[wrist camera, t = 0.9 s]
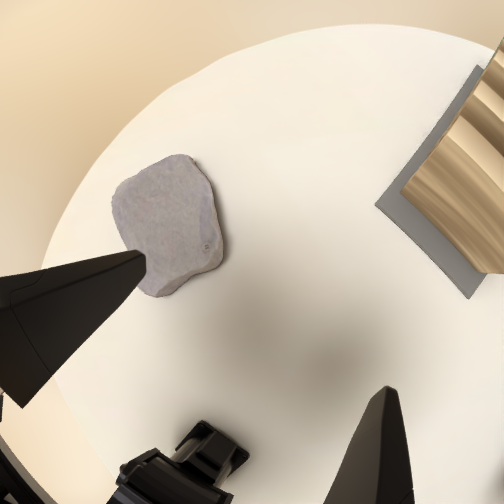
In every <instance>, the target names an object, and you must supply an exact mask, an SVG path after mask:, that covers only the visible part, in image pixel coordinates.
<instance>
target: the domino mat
mask: <svg viewBox="0 0 504 504" xmlns="http://www.w3.org/2000/svg"><path fill="white" fill-rule="evenodd" d="M483 71H484V70H483V69H482V68H481V67H480V66H478V65H476V67H475V68H474V70H473V71H472V73H471V74H470V76H469V78H468V79H467V81H466V82H465V84H464V85H463V87H462V88H461V90H460V91H459V93H458V94H457V96H456V97H455V99H454V100H453V101H452V103H451V104H450V106H449V107H448V109H447V110H446V112H445V113H444V114H443V116H442V117H441V119H440V120H439V121H438V123H437V124H436V126H435V127H434V128H433V130H432V131H431V133H430V134H429V135H428V137H427V138H426V139H425V141H424V142H423V143H422V145H421V146H420V147H419V149H418V150H417V151H416V153H415V154H414V155H413V157H412V158H411V159H410V161H409V162H408V163H407V165H406V166H405V167H404V168H403V170H402V171H401V172H400V174H399V175H398V176H397V177H396V179H395V180H394V181H393V182H392V184H391V185H390V186H389V187H388V189H387V190H386V191H385V192H384V194H383V195H382V196H381V197H380V199H379V200H378V201H377V202H376V203H375V205H376V206H377V207H378V208H379V209H380V210H381V211H382V212H383V213H384V214H386V215H387V216H388V217H389V218H390V219H391V220H392V221H393V222H394V223H395V224H396V225H397V226H398V227H400V228H401V229H402V230H403V231H404V232H405V233H406V234H407V235H408V236H409V237H410V238H411V239H412V240H413V241H414V242H415V243H416V244H417V245H418V246H419V247H420V248H421V249H422V250H423V251H424V252H425V253H426V254H427V255H428V256H429V257H430V258H431V259H432V260H433V261H434V262H435V263H436V264H437V265H438V266H439V268H440V269H441V270H442V271H443V272H444V273H445V274H446V275H447V276H448V277H449V278H450V279H451V281H452V282H453V283H454V284H455V285H456V286H457V287H458V288H459V290H460V291H461V292H462V293H463V294H464V295H465V297H466V298H467V299H470V298H471V296H472V295H473V294H474V292H475V291H476V289H477V288H478V286H479V285H480V284H481V282H482V281H483V279H484V278H485V276H486V275H487V273H480V272H476V271H475V270H474V268H473V267H472V266H471V265H470V264H469V263H468V261H467V260H466V259H465V258H464V257H463V256H462V255H461V253H460V252H459V251H458V250H457V249H456V248H455V247H454V246H453V245H452V244H451V243H450V242H449V240H448V239H447V238H446V237H445V236H444V235H443V234H442V233H441V232H440V231H439V230H438V229H437V228H436V227H435V226H434V225H433V224H432V223H431V222H430V221H429V220H428V219H427V218H426V217H425V216H424V215H423V214H422V213H421V212H420V211H419V210H418V209H417V208H416V207H415V206H413V205H412V204H411V203H410V202H409V201H408V200H407V199H406V198H405V197H404V196H403V195H402V194H400V191H401V190H402V189H403V187H404V186H405V185H406V184H407V182H408V181H409V180H410V178H411V177H412V176H413V175H414V174H415V172H416V171H417V170H418V169H419V167H420V166H421V165H422V164H423V163H424V161H425V160H426V159H427V158H428V157H427V156H428V154H429V153H430V151H431V150H432V149H433V147H434V146H435V144H436V143H437V142H438V141H439V139H440V138H441V137H442V135H443V134H444V133H445V131H446V130H447V128H448V127H449V124H450V123H451V121H452V120H453V118H454V117H455V115H456V114H457V113H458V111H459V110H460V108H461V107H462V106H463V104H464V103H465V101H466V99H467V97H468V95H469V94H470V92H471V91H472V89H473V88H474V86H475V85H476V83H477V81H478V80H479V78H480V76H481V74H482V73H483Z"/></svg>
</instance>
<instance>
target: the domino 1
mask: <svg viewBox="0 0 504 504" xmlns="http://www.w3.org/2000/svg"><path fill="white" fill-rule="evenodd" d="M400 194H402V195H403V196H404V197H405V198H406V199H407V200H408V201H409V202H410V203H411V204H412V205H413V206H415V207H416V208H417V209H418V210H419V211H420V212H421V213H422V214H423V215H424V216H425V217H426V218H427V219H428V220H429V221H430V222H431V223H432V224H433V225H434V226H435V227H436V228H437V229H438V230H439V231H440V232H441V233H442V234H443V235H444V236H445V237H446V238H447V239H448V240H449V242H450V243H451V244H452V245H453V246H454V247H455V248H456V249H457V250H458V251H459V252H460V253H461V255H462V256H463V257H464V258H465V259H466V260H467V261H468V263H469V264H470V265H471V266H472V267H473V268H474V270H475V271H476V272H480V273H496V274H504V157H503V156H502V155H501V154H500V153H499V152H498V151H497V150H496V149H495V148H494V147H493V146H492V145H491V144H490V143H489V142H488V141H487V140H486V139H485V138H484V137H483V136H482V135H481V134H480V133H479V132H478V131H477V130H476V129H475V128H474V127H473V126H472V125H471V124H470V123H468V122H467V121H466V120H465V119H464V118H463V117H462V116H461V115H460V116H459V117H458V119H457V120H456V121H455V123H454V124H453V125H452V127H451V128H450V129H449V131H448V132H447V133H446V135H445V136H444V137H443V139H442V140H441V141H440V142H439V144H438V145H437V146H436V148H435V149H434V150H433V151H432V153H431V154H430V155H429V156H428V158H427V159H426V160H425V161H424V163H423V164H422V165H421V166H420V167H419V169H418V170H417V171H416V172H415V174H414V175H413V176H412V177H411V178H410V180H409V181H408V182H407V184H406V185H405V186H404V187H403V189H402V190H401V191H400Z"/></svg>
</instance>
